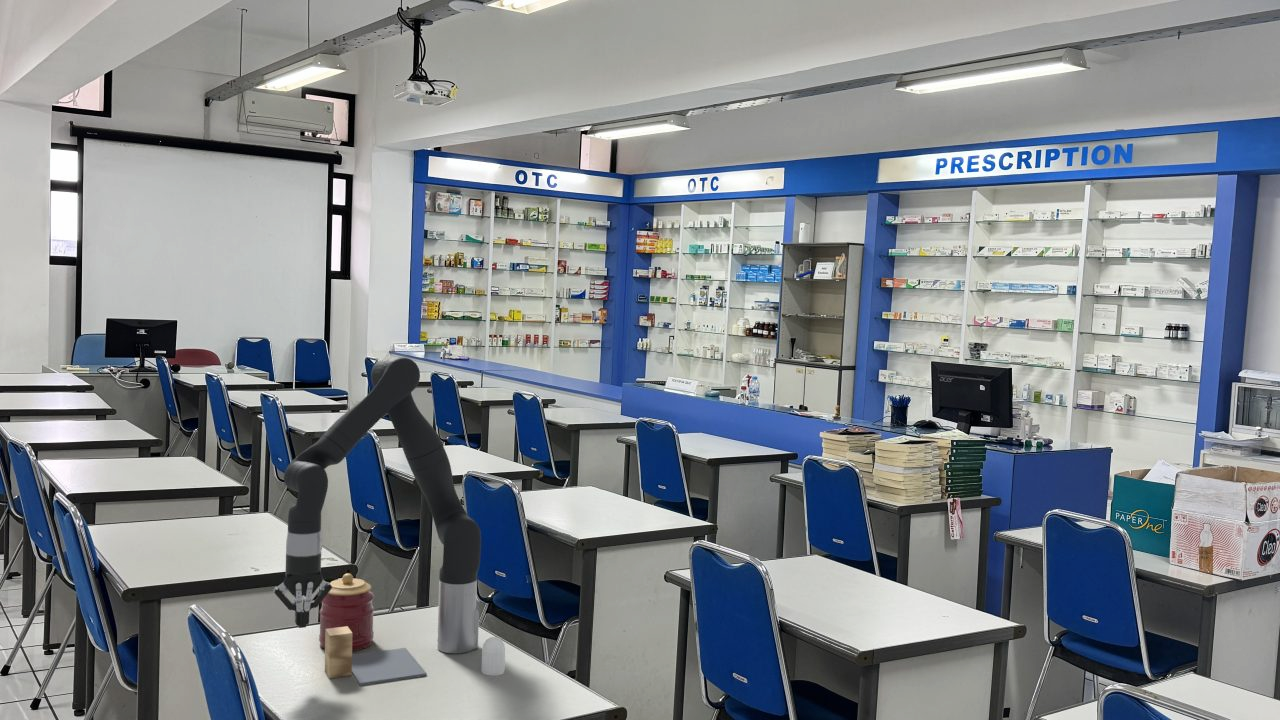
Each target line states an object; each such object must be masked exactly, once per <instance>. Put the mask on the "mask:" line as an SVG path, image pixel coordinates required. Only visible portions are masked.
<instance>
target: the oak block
mask: <svg viewBox="0 0 1280 720" xmlns="http://www.w3.org/2000/svg"><path fill="white" fill-rule="evenodd" d="M352 655H353V651H352V632H351V630H350V629H349V628H348V626H345V627H337V628H329V629H325V649H324V674H325V675H326V676H327V678H328V680H332V679H339V678H349V677H353V675H352Z"/></svg>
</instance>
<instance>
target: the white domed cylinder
mask: <svg viewBox="0 0 1280 720" xmlns="http://www.w3.org/2000/svg"><path fill="white" fill-rule="evenodd" d="M505 663H506V646H505V643H504V641H503V640H502V639H501V638H499V637H497V636H492V637H489V638H487V639H486V640H485V641H484V643H483V645H482V648H481V673H482V674H483V675H487V676H499V675H502V674H504V673H505V669H506V668H505V667H506V666H505V665H506V664H505Z"/></svg>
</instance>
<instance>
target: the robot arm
mask: <svg viewBox="0 0 1280 720" xmlns="http://www.w3.org/2000/svg"><path fill="white" fill-rule="evenodd" d="M420 372H421V371H420V368H419V366H418V365H417V363H416V361H414V360H412V359H411V358H408V357H403V356H395V357H386V358H382V359H379V360H378V361H376V362H375V363H374V365H373V366H372V369H371V372H370V380H371V384H372V387H373V388H372V390H371V391H370V392H369V393H368V394H367V395H366V396H365V397H364V398H363V399H362V400H360V401H359V402H358V403H357V404H356V405H354V406H353V407H352V408H350V409H349V410H348V411H346V412H345V413H344V414H342V415H341V416H340V417H339V418H338V419H336V421H335V422H334V423H333V424H332V425H331V426H330V427H329V428H328V429H327V430H326V431H325V432H324V433H323V434H322V436H321V437H320V438H319V439H318V440H317V441H316V442H315V443H313V444H312V445H310V446H309V447H307V449H305V450H303V452H301V453H300V454H299V455H297V456H296V457H295V458H294V459H293V460H292V461H290V463H289V464H288V465H287V467H286V468H285V471H284V473H283V481H284V485H285V486H286V487H287V488H288V489H290V490H291V491H293V492H296V493H297V498H296V503H295V504H293V505H291V506H290V507H289V509H288V514H287V515H288V516H287V536H286V544H285V545H286V546H285V573H284V576H283V579H282V583H280V584H279V585H278V586H274V587H273V588H272V591H273V593H274V594H275V596H277V598H278V599H279V600H280V601H281V602H282V603H283V605H284V606H285V607H286V608H287V609H288V611H294V623H295V625H296V626H297V627H298V629H303V628H307V626H308V625H309V623H310V611H311V610H312V609H314V608H318V607H319V606H320V604H322V600H323V599H324V598H325V596H326V595H327V594H328V593H329V591H330V590H331V589H332V586H331V584H330V583H331V582H329V581H325V579H324V578H323V577H324V576H323V575H322V549H323V545H322V531H321V530H322V511H323V508H324V504H325V501H326V497H327V493H328V488H329V476H328V473H327V470H325V469H326V468H328V467H330V466H334V465H338V464H340V463H341V462H342V461H343V460H345V458H346V457H347V456H348V455H349V454H350V452H351V451H352V450H353V449H354V448H355V447H356V446H357V444H358V443H359V442H360V441H361V440H362V439H363V437H364V436H365V435H366V434H367V433H368V432H369V431H370V430H371V429H372V428H373V427H374V426H375V425H376V424H377V423H378V422H379V421H380V420H381V419H382V418H383V417H384V416H385V415H386V414H388V416H389V419H390V421H391V424H392V426H393V428H394V430H395V431H394V432H395V434H396V436H397V438H398V440H399V444H400V445H401V448H402V451H403V454H404V456H405V458H406V461H407V463H408V466H409V468H410V471H411V473H412V475H413V476H414V479H415V481H416V482H417V486H418V487H419V489H420V491H421V493H422V494H423V496H424V498H425V500H426V502H427V504H428V506H429V507H428V508H429V509H430V512H431V516H432V519H433V522H434V526H435V530H436V533H437V538H438V539H439V541H440V543H441V544H442V546H443V551H442V552H443V554H442V555H443V557H442V565H441V567H440V568H439V571H438V574H439V575H438V576H439V577H438V578H439V580H438V608H437V609H438V612H437V613H438V615H437V617H438V618H437V640H436V641H437V649H438V650H439V651H440V652H443V653H447V654H464V653H468V652H471V651H473V650H477V649H478V648H479V625H480V622H479V620H480V612H479V611H480V610H478V609H477V599H478V597H477V595H478V593H477V592H478V589H477V588H478V572H479V570H480V565H481V552H482V551H481V550H482V549H481V548H482V531H481V528H480V527H479V525H478V523H477V522H476V521H475V520H474V519H473V518H471V517H470V515H468V513H467V512H466V510H465V508H464V506H463V504H462V502H461V500H460V498H459V496H458V494H457V491H456V489H455V484H454V477H453V473H452V472H453V471H452V466H451V464H450V459H449V456H448V454H447V452H446V449H445V446H444V444H443V442H442V440H441V438H440V436H439V434H438V433H437V431H436V430H435V429H434V427H433V426H432V425H431V424H430V422H429V421H428V420H427V418H426V417H425V416H424V415H423V414H422V413H421V411H420V410H419V408H418V406H417V405H416V402H415V400H414V397H413V394H412V392H413V391H414V390H415V389H416V388H417V386H418V385H419V383H420V380H421V378H420V377H421V373H420ZM318 588H319V590H318ZM286 589H287V590H288V591H289V593H290V594H291V596H293V601H294V602H292V601H291V600H290V599H289V598H288V596H286V595H285V594H286ZM317 590H318V591H317ZM316 591H317V593H316V594H315V595H314V597H313V594H314V593H315V592H316ZM312 597H313V598H312Z"/></svg>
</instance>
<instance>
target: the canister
mask: <svg viewBox="0 0 1280 720" xmlns="http://www.w3.org/2000/svg"><path fill="white" fill-rule="evenodd" d="M329 583H330V584H331V586H332V589H331V590H330V591H329V593H328V594H327V595H326V596H325V598H324V599H323V600H322V602H321V608H320V609H319V620H320V621H319V623H320V624H319V635H318V637H319V639H318V641H319V646H320V647H321V648H322V649H324V650H325V629H329V628H337V627H345V626H348V628H349V629H350V630H351V632H352V652H355V651H360V650H363V649H365V647H366V648H368V647H370V645H371V644H372V643H373V640H374V612H375V607H374V606H373V600H374V599H375V594H374V593H373V592H372V591H370V590H372V585H371V584H370V583H369V582H368V583H367V582H366V580H364V579H360V578H354V576H353V575H352V573H345V574H343V576H342V578H339V579H334V580H332V581H331V582H329Z"/></svg>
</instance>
